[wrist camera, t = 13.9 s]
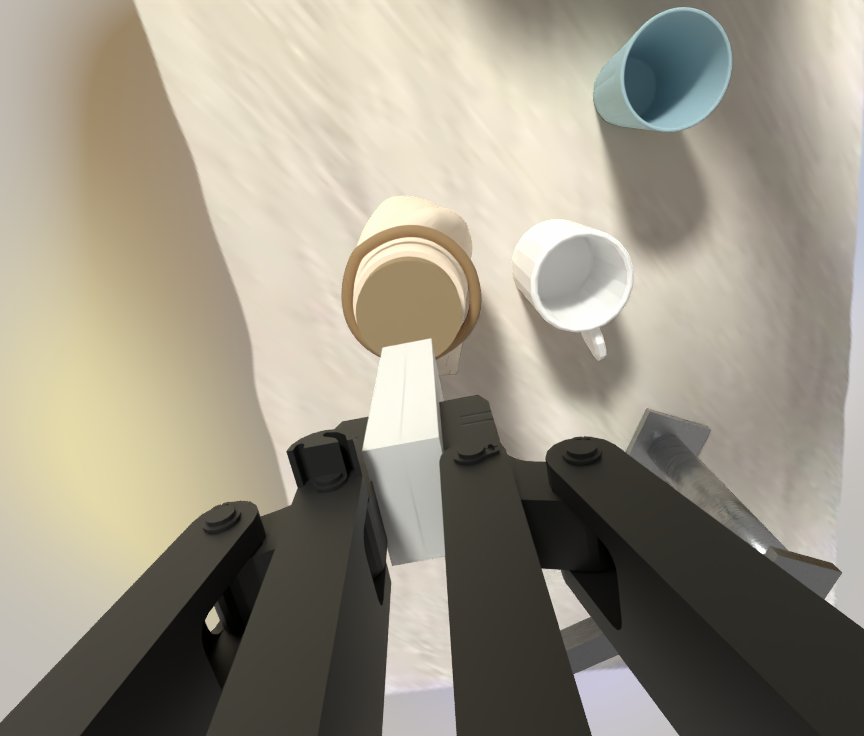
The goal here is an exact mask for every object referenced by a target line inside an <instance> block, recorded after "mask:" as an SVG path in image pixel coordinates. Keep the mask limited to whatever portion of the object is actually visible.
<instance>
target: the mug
mask: <svg viewBox="0 0 864 736" xmlns="http://www.w3.org/2000/svg"><path fill="white" fill-rule="evenodd" d="M512 275H513V277H514V280H515V283H516V285H517V287H518V288H519V290H520V291H521V292H522V293H523V294H524V296H525V297H526V298H527V299H528V300H529V302H530V303H531V304H532V305H533V306H534V308H535V309H536V310H537V311H538V312H539V313H540V315H541V316H542V317H543V318H544V319H545V321H546V322H548V323H550V324H551V325H553V326H555V327H556V328H558V329H560V330H565V331H569V332H574V333H575V332H581V334H582V337H583V339H584V341H585V342H586V344H587V346H588V347H589V349H590V351H591V352H592V354H593V356H594V357H595V358H596V359H597V360H598V361H599V360H602V359H604V358H605V356H606V355H607V354H606V346H605V342H604V337H603V335H602V332H601V330H600V327H602V326H604V325H606V324H607V323H608V322H610V321H611V320H612V319H614V318H615V317H616V316H617V315H618V314H619V313H620V312H621V310H622V309H623V308H624V306H625V305H626V303H627V302H628V300H629V297H630V294H631V291H632V288H633V280H634V269H633V265H632V262H631V259H630V255H629V254H628V252H627V251H626V249H625V248H624V247H623V245H622V244H621V243H620V242H619V241H618V240H616V239H615V238H613V237H612V236H610V235H609V234H607V233H605V232H602V231H599V230H596V229H593V228H590V227H587V226H584V225H581V224H578V223H575V222H571V221H567V220H563V219H555V220H547V221H544V222H542V223H540V224H537V225H535V226H533V227H532V228H531V229H530V230H529V231H527V232H526V233H525V234H524V235H523V236H522V238H521V239H520V241H519V243H518V244H517V246H516V247H515V251H514V254H513V258H512Z"/></svg>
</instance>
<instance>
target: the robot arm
mask: <svg viewBox="0 0 864 736" xmlns="http://www.w3.org/2000/svg"><path fill="white" fill-rule="evenodd" d="M286 452H287V455H288V458H289V461H290V465H291V468H292V471H293V474H294V477H295V480H296V484H297V487H298V489H297V491H296V494H295V497H294V499H293V502H292V505H290V506H288V507H285V508H283V509H281V510H278V511H275V512H272V513H270V514H267V515H264V516H261V517H260V514H259V511H258V509H257V506H256V505H255V504H253V503H251V502H248V501H236V502H227V503H223V504H222V505H218V506H215V507H213V508H212V509H211V510H209V511H207V512H206V513H204V514H202V515H201V516H200V517H199V518H197V519H196V520H195V521H194V522H192V524H191V525H190V526H189V527H188V528H187V529H186V530H185V531H184V532H183V533H182V534H181V535H180V536H179V537H178V538H177V539H176V540H175V541H174V542H173V543H172V544H171V546H169V547H168V549H167V550H166V551H165V552H164V553H163V554H162V555H161V556H160V557H159V558H158V559H157V560H156V561H155V562H154V563H153V564H152V565H151V566H150V567H149V568H148V569H147V570H146V571H145V573H144V574H143V575H142V576H141V577H140V578H139V579H138V580H137V581H136V582H135V583H134V584H133V585H132V586H131V587H130V588H129V589H128V590H127V591H126V592H125V593H124V594H123V596H122V597H121V598H120V599H119V600H118V601H117V602H116V603H115V604H114V605H113V606H112V607H111V608H110V609H109V610H108V611H107V612H106V613H105V614H104V615H103V616H102V617H101V618H100V619H99V620H98V622H97V623H96V624H95V625H94V626H93V627H92V628H91V629H90V630H89V631H88V632H87V633H86V634H85V635H84V636H83V637H82V638H81V639H80V640H79V641H78V642H77V644H75V645H74V647H73V648H72V649H71V650H70V651H69V652H68V653H67V654H66V655H65V656H64V657H63V658H62V659H61V660H60V661H59V662H58V663H57V664H56V665H55V667H54V668H52V669H51V670H50V672H49V673H48V674H47V675H46V676H45V677H44V678H43V679H42V680H41V681H40V682H39V683H38V684H37V685H36V686H35V687H34V688H33V689H32V690H31V691H30V692H29V693H28V695H27V696H26V697H25V698H24V699H23V700H22V701H21V702H20V703H19V704H18V705H17V706H16V707H15V708H14V709H13V710H12V711H11V712H10V713H9V714H8V715H7V716H6V717H5V718H4V720H3V721H2V722H1V723H0V736H382V724H383V708H384V692H385V676H386V659H387V643H388V627H389V611H390V594H391V579H390V575H389V571H388V567H387V564H386V554H387V548H388V552H389V556H390V560H391V563H392V566H394V565H400V564H405V563H411V562H417V561H423V560H428V559H434V558H440V557H445V560H446V576H447V592H448V607H449V623H450V638H451V654H452V669H453V685H454V700H455V716H456V731H457V736H592V735H591V732H590V728H589V725H588V722H587V718H586V715H585V712H584V708H583V705H582V702H581V698H580V695H579V692H578V689H577V685H576V682H575V678H574V675H573V672H572V668H571V665H570V662H569V658H568V655H567V652H566V649H565V645H564V642H563V639H562V635H561V632H560V629H559V625H558V622H557V619H556V615H555V612H554V609H553V605H552V602H551V599H550V595H549V592H548V589H547V585H546V582H545V579H544V576H543V572H542V569H541V568H543V569H558V570H561V573H562V576H563V578H564V580H565V582H566V584H567V585H568V586H569V588H570V589H571V590H572V592H573V593H574V594H575V596H576V597H577V599H578V600H579V601H580V603H581V604H582V605H583V607H584V608H585V609H586V611H587V612H588V613H589V615H590V616H591V617H592V619H593V620H594V621H595V623H596V624H597V625H598V627H599V628H600V629H601V631H602V632H603V634H604V635H605V636H606V638H607V639H608V640H609V642H610V643H611V644H612V646H613V647H614V648H615V650H616V651H617V652H618V654H619V655H620V656H621V658H622V659H623V660H624V662H625V663H626V664H627V666H628V667H629V668H630V670H631V671H632V673H633V674H634V675H635V676H636V678H637V679H638V681H639V682H640V683H641V685H642V686H643V687H644V688H645V690H646V691H647V693H648V694H649V695H650V697H651V698H652V699H653V701H654V702H655V703H656V705H657V706H658V708H659V709H660V710H661V712H662V713H663V714H664V716H665V717H666V718H667V720H668V721H669V722H670V724H671V725H672V726H673V728H674V729H675V730H676V732H677V733H678V734H679V736H864V629H863V628H862V627H861V626H859V625H858V624H856V623H855V622H854V621H852V620H851V619H850V618H848V617H847V616H846V615H844V614H843V613H842V612H840V611H839V610H838V609H836V608H835V607H833V606H832V605H831V604H829V603H828V602H827V601H825V600H824V599H823V598H821V597H820V596H819V595H817V594H816V593H815V592H813V591H812V590H811V589H809V588H808V587H806V586H805V585H804V584H802V583H801V582H800V581H798V580H797V579H796V578H794V577H793V576H792V575H790V574H789V573H788V572H786V571H785V570H784V569H782V568H781V567H779V566H778V565H777V564H775V563H774V562H773V561H771V560H770V559H769V558H767V557H766V556H765V555H763V554H762V553H761V552H759V551H758V550H756V549H755V548H754V547H752V546H751V545H750V544H748V543H747V542H746V541H744V540H743V539H742V538H740V537H739V536H738V535H736V534H735V533H734V532H732V531H731V530H729V529H728V528H727V527H725V526H724V525H723V524H721V523H720V522H719V521H717V520H716V519H715V518H713V517H712V516H711V515H709V514H708V513H707V512H705V511H704V510H702V509H701V508H700V507H698V506H697V505H696V504H694V503H693V502H692V501H690V500H689V499H688V498H686V497H685V496H684V495H682V494H681V493H679V492H678V491H677V490H675V489H674V488H673V487H671V486H670V485H669V484H667V483H666V482H665V481H663V480H662V479H661V478H659V477H658V476H657V475H655V474H654V473H652V472H651V471H650V470H648V469H647V468H646V467H644V466H643V465H642V464H640V463H639V462H638V461H636V460H635V459H634V458H632V457H631V456H630V455H628V454H627V453H625V452H624V451H623V450H621V449H620V448H619V447H617V446H616V445H615V444H613V443H611V442H609V441H607V440H604V439H599V438H594V437H585V436H584V437H575V438H573V439H568V440H564V441H562V442H559V443H557V444H555V445H554V446H552V447H551V448H550V449H549V450H548V451H547V454H546V462H532V461H523V460H519V459H515V458H513V457H511V456H509V455H508V454H507V453H506V450H505V448H504V447H503V446H502V444H501V443H500V440H499V436H498V433H497V429H496V426H495V423H494V420H493V416H492V413H491V409H490V406H489V402H488V401H487V400H485V399H483V398H482V397H480V396H479V395H475V396H469V397H464V398H459V399H453V400H448V401H444V399H443V394H442V389H441V384H440V379H439V374H438V369H437V364H436V359H435V354H434V349H433V344H432V339H431V338H430V339H425V340H420V341H415V342H409V343H404V344H399V345H394V346H388V347H383V348H382V353H381V358H380V363H379V368H378V373H377V378H376V383H375V388H374V393H373V398H372V403H371V408H370V413H369V417H364V418H359V419H354V420H348V421H343V422H341V423H340V424H339V425H338V426H337V427H336V428H335V429H333V430H324V431H320V432H317V433H313V434H310V435H308V436H306V437H304V438H301V439H300V440H298V441H297V442H295V443H294V444H292V445H291V446H290V448H289V449H288V450H287V451H286ZM213 606H214V607H215V609H216V612H217V614H218V617H219V619H220V622H219V623H218V624H217V626H216V627H215V628H214V629H213V630H212V631H211V632H210V631H209V629H208V627H207V625H206V623H205V619H206V617H207V615H208V613H209V612H210V610H211V609H212V608H213Z"/></svg>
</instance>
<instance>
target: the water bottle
mask: <svg viewBox="0 0 864 736" xmlns="http://www.w3.org/2000/svg"><path fill="white" fill-rule="evenodd" d="M471 255H472V241H471V237H470V233H469V230H468V226H467V224H466V222H465V221H464V220H463V218H462V217H461V216H460V215H459V214H457V213H456V212H455V211H453V210H450V209H446V208H440V207H438V206H437V205H436V204H434V203H432V202H430V201H428V200H425V199H421V198H417V197H413V196H396V197H391V198H389V199H387V200H385V201H384V202H383V203H382V204H381V205H380V206H379V207H378V208H377V209H376V211H375V212H374V213H373V215H372V216H371V218H370V219H369V221H368V222H367V224H366V226H365V227H364V229H363V231H362V234H361V237H360V239H359V242H358V244H357V247H356V248H355V249H354V251H353V252H352V254H351V256H350V258H349V260H348V262H347V265H346V268H345V272H344V277H343V282H342V307H343V313H344V316H345V320H346V322H347V325H348V327H349V329H350V331H351V332H352V334H353V335H354V337H355V338H356V339H357V340H358V341H359V342H360V344H362V345H363V346H364V347H365V348H366V349H367V350H369V351H370V352H372V353H373V354H375V355H377V356H379V357H380V358H381V353H382V348H383V347H388V346H394V345H399V344H404V343H409V342H415V341H420V340H425V339H430V338H431V339H432V344H433V349H434V354H435V359H436V364H437V369H438V374H439V375H453V374H457V373H458V366H459V360H460V354H461V348H462V342H463V341H464V340H465V339H466V338H467V337H468V335H469V334H470V333H471V331H472V330H473V328H474V326H475V325H476V322H477V320H478V317H479V314H480V309H481V289H480V283H479V279H478V275H477V272H476V269H475V267H474V265H473V263H472V261H471ZM467 283H468V285H467ZM468 288H469V295H470V304H469V310H468V314H467V317H466V319H465V321H464V323H463V320H464V316H465V309H466V298H467V292H468ZM462 323H463V324H462ZM461 325H462V326H461Z"/></svg>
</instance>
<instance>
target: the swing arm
mask: <svg viewBox="0 0 864 736" xmlns="http://www.w3.org/2000/svg"><path fill="white" fill-rule="evenodd" d="M560 632H561V635H562V639H563V642H564V645H565V649H566V652H567V655H568V658H569V662H570V665H571V668H572V672H573V674H575V673H577V672H579V671H582V670H584V669H586V668H589V667H591V666H593V665H596V664H598V663H600V662H603V661H605V660H607V659H610V658H612V657H614V656H616V655H619V654H618V652H617V651H616V650H615V648H614V647H613V646H612V644H611V643H610V642H609V640H608V639H607V638H606V636H605V635H604V634H603V632H602V631H601V629H600V628H599V627H598V625H597V624H596V623H595V621H594V620H593V619H592V617H590V618H588V619H585V620H583V621H581V622H579V623H576V624H574V625H572V626H570V627H567V628H565V629H563V630H561V631H560Z"/></svg>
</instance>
